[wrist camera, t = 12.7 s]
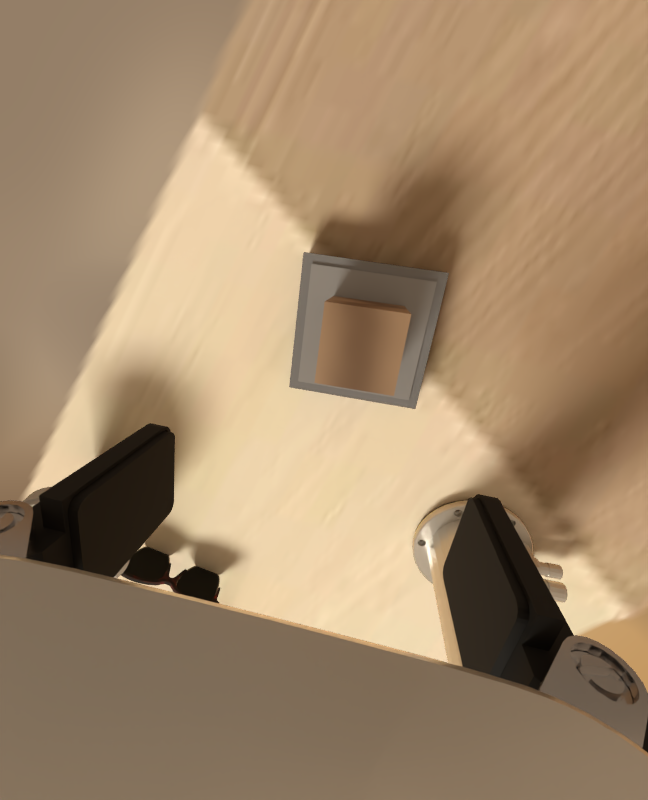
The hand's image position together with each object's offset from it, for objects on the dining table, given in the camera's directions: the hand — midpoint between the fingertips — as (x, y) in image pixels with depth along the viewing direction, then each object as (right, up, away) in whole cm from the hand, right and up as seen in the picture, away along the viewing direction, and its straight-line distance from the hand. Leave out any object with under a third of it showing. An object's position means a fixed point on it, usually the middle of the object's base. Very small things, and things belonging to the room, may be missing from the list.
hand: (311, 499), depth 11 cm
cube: (+4, +9, +20) cm, 22 cm away
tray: (+4, +10, +22) cm, 25 cm away
